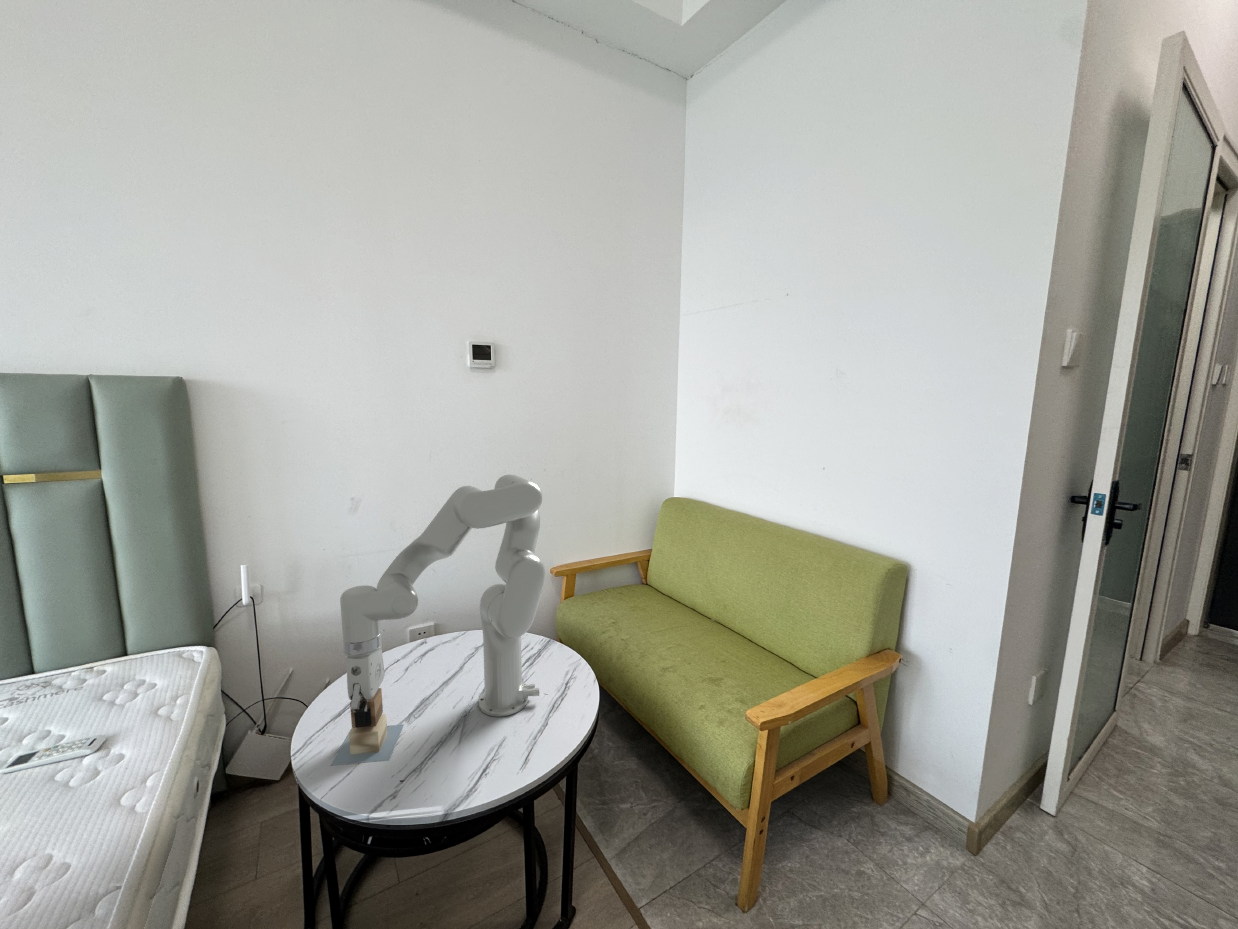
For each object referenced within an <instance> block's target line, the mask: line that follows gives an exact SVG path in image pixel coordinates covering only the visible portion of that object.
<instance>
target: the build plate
mask: <svg viewBox="0 0 1238 929" xmlns="http://www.w3.org/2000/svg"><path fill="white" fill-rule="evenodd" d="M404 726H405V724H403V723H401V724H392V725H387V735H386V738H385V740H384V742H383V744H382V747H381V749H380V751H379V752H371V753H360V754H350V741H349V733H350V731H351V729H350V730H349V732H348V734H347V735H346V737H345V739H344V740H343V742H342V745H341V746H340V747H339V750H338V752H337V753H336V755H335V757H334V758H333V760H332V761H331V763H330V767H331V766H333V767H334V766H341V765H353V764H355V765H356V764H362V763H363V764H365V763H374V762H384V761H385V762H386V761H390V760H391V757H392V755H393V753H394V751H395V748H396V746H397V743H398V740H399V738H400V735H401V733H402V731H403V728H404Z"/></svg>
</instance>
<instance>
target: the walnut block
mask: <svg viewBox="0 0 1238 929" xmlns="http://www.w3.org/2000/svg"><path fill="white" fill-rule="evenodd" d="M382 693H383V691H382V687H381V688H380V687H379V688H378V690H377V692H376V694H375V695H374V697H373V698H371V699H369V708H370V709H371V726H369V727H372V726H376V725H377V723H378V721H379V719H380V717H381V715H383V714H384V707H383V694H382ZM361 696H363V694H361ZM351 703H352V701H351V700H350V703H349V704H350V705H349V707H350V719H351V720H350V721H351V729H352V728H356V727H355V716H354V711H353V710H352V709H351ZM360 704H365V700H360ZM358 728H360V727H358Z"/></svg>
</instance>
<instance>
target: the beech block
mask: <svg viewBox="0 0 1238 929" xmlns="http://www.w3.org/2000/svg"><path fill="white" fill-rule="evenodd" d="M387 723H388V722H387V714H384V713H382V715H381V717H380V719H379V721H378V723H377V725H376V726H372V727H360V728H352V727H351V728H350V730H351V731H350V730H349V732H350V733H349V732H348V733H349V741H350V754H360V753H371V752H379V751H380V749H381V747H382V744H383V742H384V740H385V738H386V735H387V726H388V724H387Z"/></svg>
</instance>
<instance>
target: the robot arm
mask: <svg viewBox="0 0 1238 929" xmlns="http://www.w3.org/2000/svg"><path fill="white" fill-rule="evenodd" d="M542 503H543V493H542V491H541V489H540V487H539V486H538V485H537V484H536V483H534V482H533V481H531V480H529V479H526V478H523V477H521V476H519V475H516V474H510V473H509V474H505V475H502V476H501V477H499V478H497V481H496V483H495V484H494V488H493V489H488V490H482V489H480V488H478V487H475V486H472V485H464V486H460V487H459V488H457V489H456V490H454V491H453V493H452V494H451V495H450V496H449V497H448V499H447V500H446V501H445V503H444V504H443V506H442V507H441V508H440V510H439V511H438V512H437V513H436V515H435V516H434V517H433V518H432V520H431V521H430V522H429V524H428V525H427V526H426V528H425V529H424V531H423V532H422V533H421V534H420V535H419V536H418V537H417V538H416V539H414V540H413V541H412V542H410V543H409V545H407V546H406V547H405V548H404V549H403V550H401V551H400V552H399V553H398V555H397V556H395V558H394V560H392V562H391V563H390V565H389V566H388V568H387V569H386V570H385V571H384V572H383V574H382V575H381V577H380V578H379V580H378V582H377V585H376V587H375V586H373V585H357V586H353V587H349V588H348V589H346V590H344V591H343V592H342V594H341V596H340V599H339V600H340V601H339V603H340V604H339V605H340V617H341V630H342V644H343V655H345V656H346V657H347V661H346V685H347V687H346V688H347V689H346V690H347V695H348V699H349V700H350V703H351V701H352V703H351V709H352V710H353V711H354V716H355V727H356V728H358V727H369V726H371V709H370V708H369V699H371V698H373V697H374V695H375V694H376V692H377V690H378V688H380V687H381V684H382V683H383V681H384V679H385V675H386V674H385V665H384V664H385V663H384V655H383V649H382V646H383V643H382V642H383V641H382V640H383V639H382V627H381V626H382V624H381V623H382V622H381V621H389V620H390V621H393V620H401V619H406V618H408V617H410V616H411V615H412V614H414V613H415V612H416V610H417V608H418V606H419V596H418V593H417V592H416V590H415V589H414V586H413V585H414V583H416V581H417V579H419V577H420V576H421V574H422V573H423V572H424V571H425V570H426V569H427V568H428V567H429V566H430V565H432V564H434V562H437V561H440V560H443V559H447V558H449V557H451V556H452V555H454V553H455V552H456V551H457V549H458V548H459V547H460V545H461V544H462V542H463V541H464V539H465V538H466V537H467V536H468V534H469V533H470V531H472V529H475V530H476V529H486V528H490V527H491V528H492V527H495V526H499V525H502V524H505V529H504V533H503V536H502V539H501V543H500V546H499V551H498V553H497V556H496V560H495V566H494V568H495V573H496V574H497V576H498V577H499V578H500V579H501V580H502V581H503V582H504V583H505V584H504V583H496V584H493V585H490V586H489V587H488V588H486V590H484V592H483V593H482V596H481V598H480V602H479V614H480V622H481V629H482V640H483V642H482V644H483V646H482V647H483V675H484V676H483V678H484V679H483V681H484V692H482V694H481V695H480V697H479V699H478V707H479V710H480V711H481V712H482V713H483V714H485V715H488V716H489V717H490V716H491V717H506V716H511V715H513V714H516V713H518V712H520V711H521V710H523V709H524V708H525V706H527V704H528V701H529V697H540V687H536V685H535V683H530V684H526V683H524V680H525V679H524V678H523V672H522V669H523V668H522V636H523V635H525V634H526V633H527V632H528V631H529V630H530V628H531V626H532V624H533V622H534V619H535V618H536V615H537V611H538V608H539V603H540V600H541V597H542V593H543V590H544V587H545V582H546V567H545V565H544V563H543V561H542V560H541V559H540V558H539V557H538V556H537V555H535V551H536V550H535V549H536V546H537V543H538V542H537V541H538V538H539V533H540V527H541V516H540V515H541V514H540V510H539V509H540V507H541V506H542ZM361 694H363V696H361ZM360 700H365V704H360ZM351 709H350V710H351Z"/></svg>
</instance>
